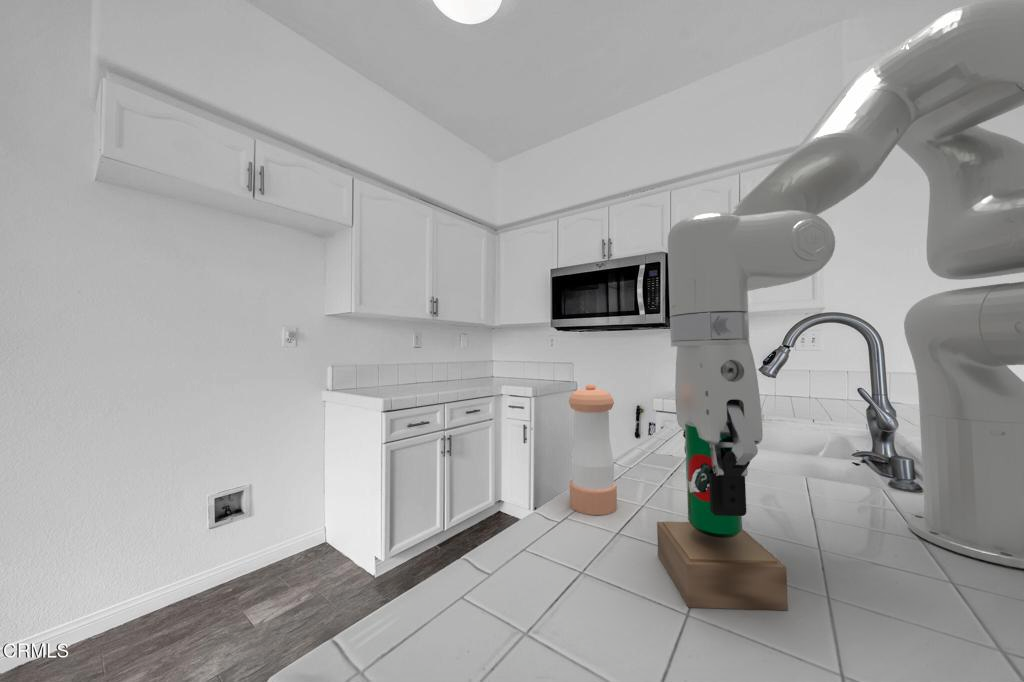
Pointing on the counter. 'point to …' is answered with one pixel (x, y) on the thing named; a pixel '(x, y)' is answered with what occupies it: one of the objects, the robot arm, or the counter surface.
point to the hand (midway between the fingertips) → (714, 500)
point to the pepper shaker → (592, 453)
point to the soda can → (705, 488)
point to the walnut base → (721, 569)
